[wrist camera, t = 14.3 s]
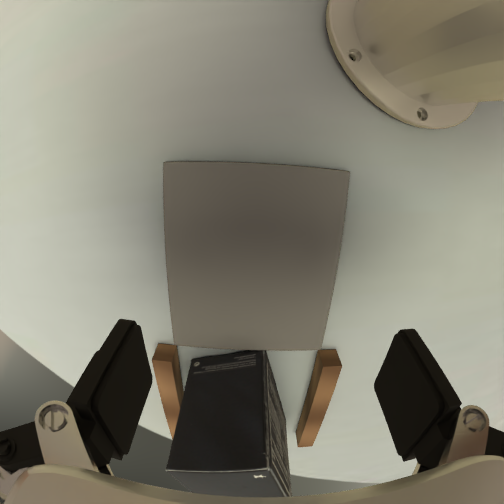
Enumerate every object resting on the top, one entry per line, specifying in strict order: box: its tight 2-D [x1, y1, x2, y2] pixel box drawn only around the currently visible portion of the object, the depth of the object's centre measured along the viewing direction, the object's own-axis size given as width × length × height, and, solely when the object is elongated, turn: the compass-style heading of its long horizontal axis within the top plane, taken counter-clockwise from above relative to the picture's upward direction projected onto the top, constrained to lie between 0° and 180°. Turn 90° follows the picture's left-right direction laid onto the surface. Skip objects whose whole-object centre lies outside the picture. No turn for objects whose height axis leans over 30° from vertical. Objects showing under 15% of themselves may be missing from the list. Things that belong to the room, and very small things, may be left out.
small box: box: [166, 350, 292, 497], centre depth 18 cm, size 11×6×10 cm, turn 13°
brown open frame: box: [152, 343, 342, 447], centre depth 22 cm, size 12×14×2 cm
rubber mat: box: [163, 162, 350, 351], centre depth 18 cm, size 13×11×1 cm
